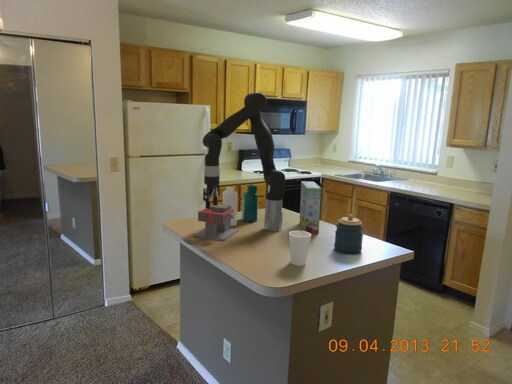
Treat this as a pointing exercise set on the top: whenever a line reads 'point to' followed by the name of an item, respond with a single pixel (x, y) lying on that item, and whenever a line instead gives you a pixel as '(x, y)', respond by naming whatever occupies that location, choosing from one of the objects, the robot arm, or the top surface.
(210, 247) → the top surface
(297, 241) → the foam cup
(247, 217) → the teal bottle
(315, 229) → the snack box
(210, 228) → the stand
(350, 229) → the lidded canister
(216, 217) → the red c-shaped frame
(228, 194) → the milk
